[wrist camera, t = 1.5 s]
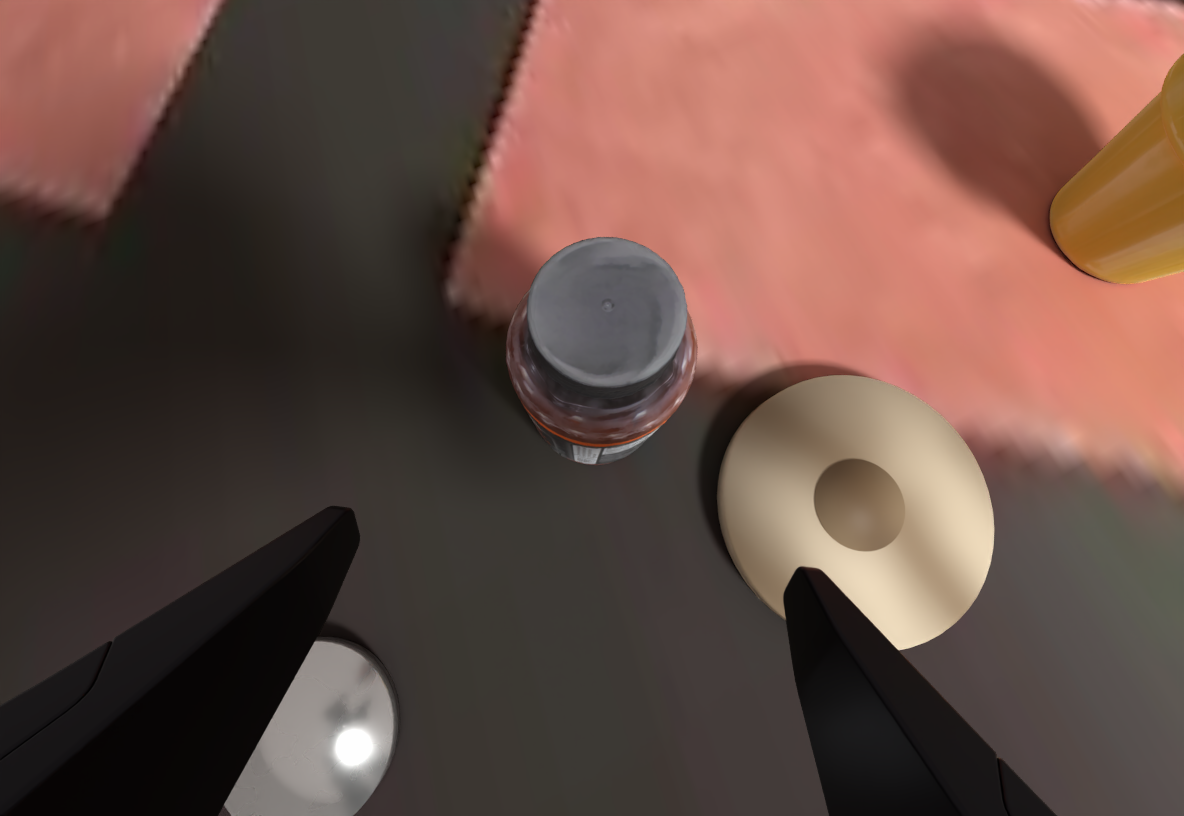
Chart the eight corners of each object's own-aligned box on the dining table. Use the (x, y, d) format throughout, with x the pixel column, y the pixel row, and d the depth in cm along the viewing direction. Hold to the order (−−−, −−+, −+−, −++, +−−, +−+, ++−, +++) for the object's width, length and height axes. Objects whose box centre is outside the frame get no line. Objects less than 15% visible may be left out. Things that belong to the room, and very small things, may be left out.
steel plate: (308, 870, 18) (295, 887, 17) (191, 741, 18) (174, 751, 18) (435, 715, 19) (429, 724, 18) (320, 601, 20) (309, 605, 19)
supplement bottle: (518, 368, 22) (456, 229, 11) (631, 334, 23) (679, 171, 12) (553, 484, 21) (522, 457, 10) (672, 446, 22) (767, 380, 11)
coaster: (884, 706, 19) (905, 719, 18) (665, 520, 21) (670, 521, 20) (1016, 489, 21) (1043, 488, 20) (809, 335, 23) (822, 325, 22)
